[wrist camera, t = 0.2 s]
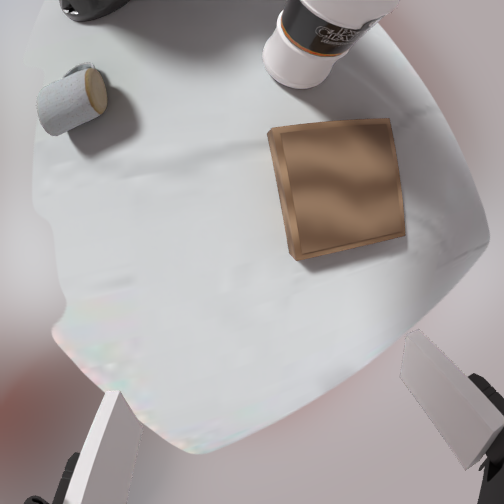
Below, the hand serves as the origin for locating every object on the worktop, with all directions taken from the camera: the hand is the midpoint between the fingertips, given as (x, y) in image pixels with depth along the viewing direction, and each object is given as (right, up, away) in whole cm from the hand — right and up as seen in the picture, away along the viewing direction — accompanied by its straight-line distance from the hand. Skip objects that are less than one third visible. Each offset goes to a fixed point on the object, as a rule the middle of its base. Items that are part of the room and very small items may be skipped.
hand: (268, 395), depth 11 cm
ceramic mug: (-25, +28, +19) cm, 42 cm away
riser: (+11, +15, +25) cm, 31 cm away
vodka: (+5, +32, +21) cm, 39 cm away
